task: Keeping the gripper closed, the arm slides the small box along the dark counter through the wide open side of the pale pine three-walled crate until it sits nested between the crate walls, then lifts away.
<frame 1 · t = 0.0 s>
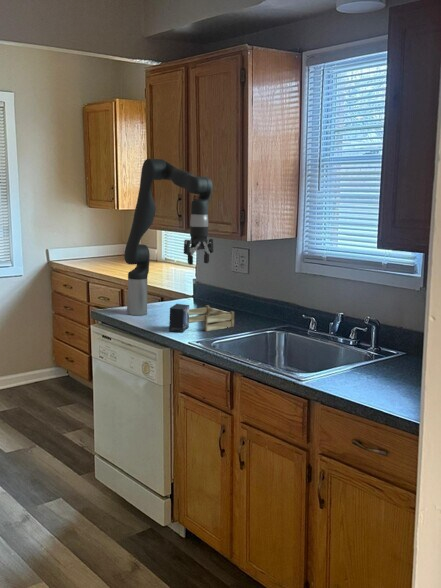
hand: (198, 263, 269), 29 cm above the countertop, fingers open, 8 cm apart
small box: (179, 330, 277), on the countertop
pine crate: (205, 325, 287), on the countertop
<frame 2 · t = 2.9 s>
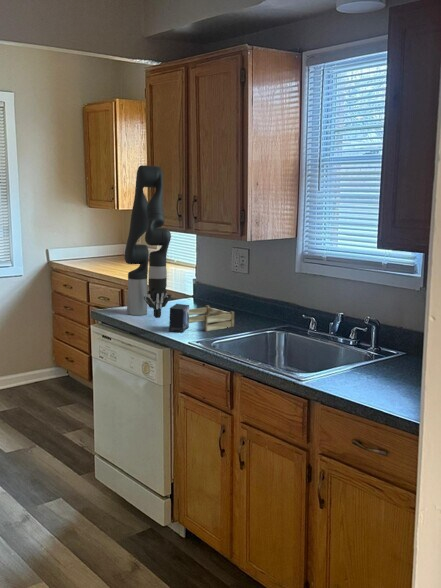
hand: (157, 317, 268), 7 cm above the countertop, fingers closed
nothing on the countertop moved.
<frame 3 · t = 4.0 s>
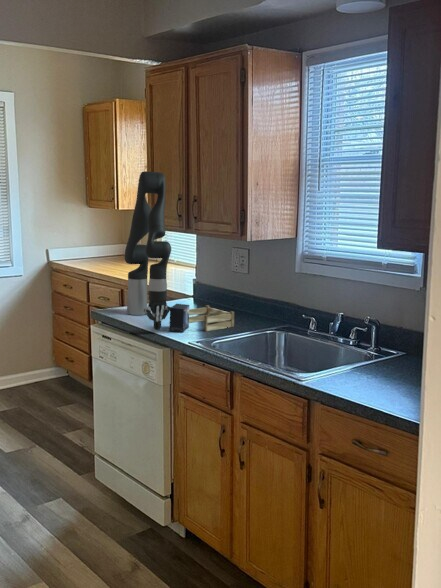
hand: (157, 329, 269), 2 cm above the countertop, fingers closed
small box: (179, 330, 277), on the countertop, touching hand
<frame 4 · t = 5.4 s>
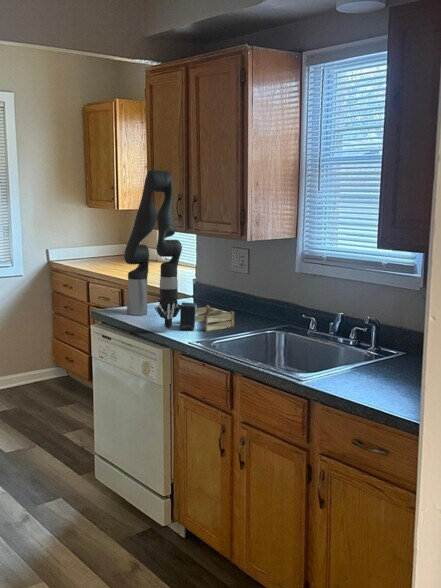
hand: (168, 327, 272), 2 cm above the countertop, fingers closed
small box: (187, 328, 280), on the countertop, touching hand
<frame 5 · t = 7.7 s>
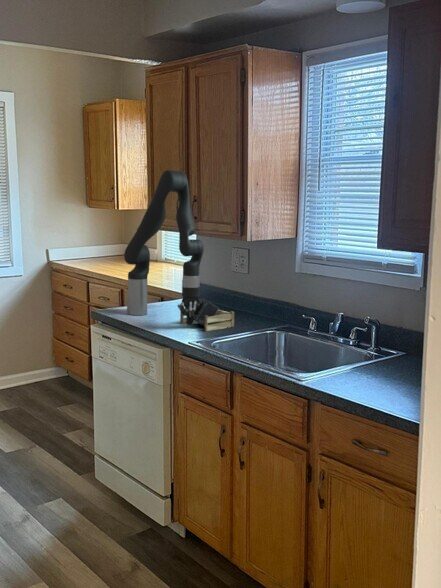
hand: (189, 324, 280), 2 cm above the countertop, fingers closed
small box: (197, 323, 284), point 1 cm above the countertop, touching gripper, hand
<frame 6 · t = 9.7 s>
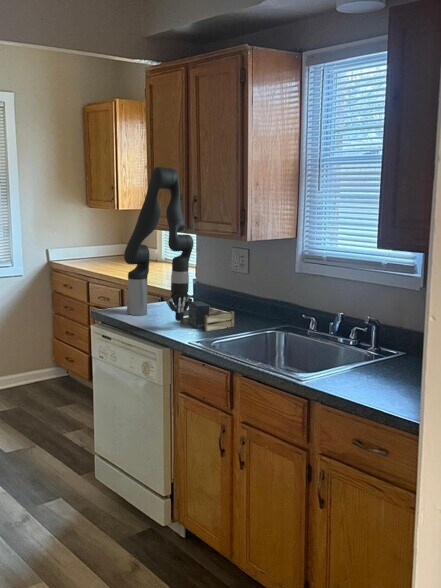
hand: (178, 320, 276), 4 cm above the countertop, fingers closed
small box: (198, 326, 285), on the countertop
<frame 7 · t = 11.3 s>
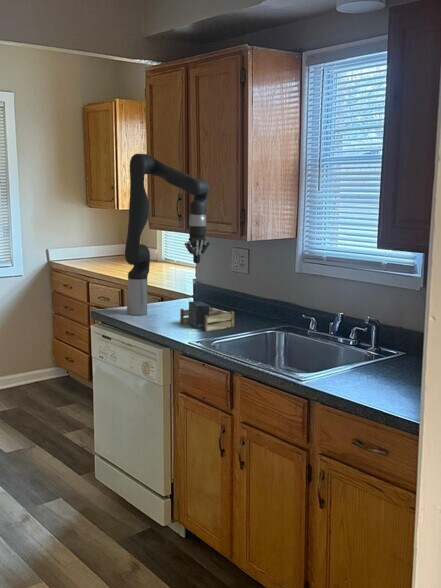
hand: (196, 263, 288), 27 cm above the countertop, fingers closed
nothing on the countertop moved.
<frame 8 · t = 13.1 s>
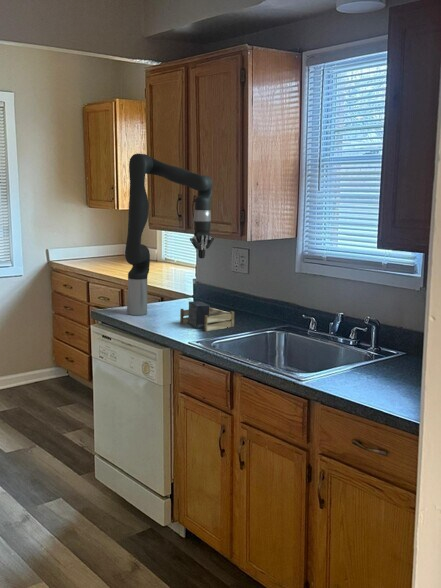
hand: (201, 258, 292), 29 cm above the countertop, fingers closed
nothing on the countertop moved.
at the end: small box inside the target area on the pine crate (3.2 cm from its centre), point 0.0 cm above the pine crate's base; small box tilted 0° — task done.
